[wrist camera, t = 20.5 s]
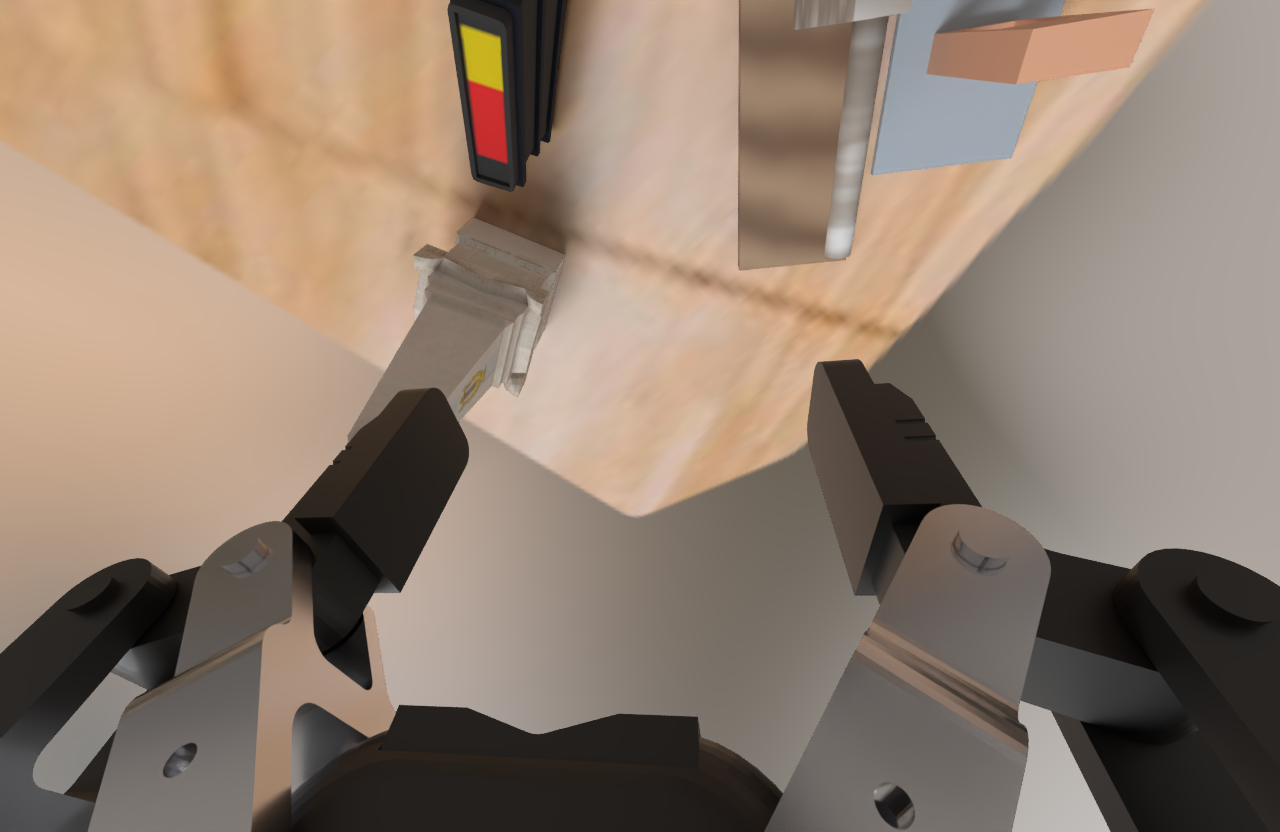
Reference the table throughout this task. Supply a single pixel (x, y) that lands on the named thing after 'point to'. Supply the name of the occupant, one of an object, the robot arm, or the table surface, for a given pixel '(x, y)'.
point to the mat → (949, 91)
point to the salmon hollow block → (1040, 47)
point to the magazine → (506, 81)
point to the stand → (805, 124)
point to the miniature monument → (472, 318)
